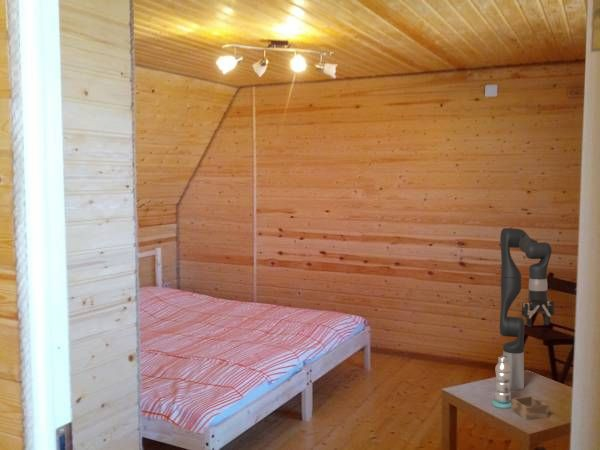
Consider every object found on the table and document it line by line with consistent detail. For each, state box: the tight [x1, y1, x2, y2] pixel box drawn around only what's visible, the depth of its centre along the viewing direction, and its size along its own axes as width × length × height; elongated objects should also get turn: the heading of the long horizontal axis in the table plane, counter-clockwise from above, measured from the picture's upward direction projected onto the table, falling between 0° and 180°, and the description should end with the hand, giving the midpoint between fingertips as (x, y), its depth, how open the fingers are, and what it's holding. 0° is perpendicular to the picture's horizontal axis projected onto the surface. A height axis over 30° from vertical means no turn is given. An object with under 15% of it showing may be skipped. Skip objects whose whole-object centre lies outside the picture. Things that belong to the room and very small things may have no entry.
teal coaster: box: [491, 398, 511, 410], centre depth 261 cm, size 9×9×1 cm
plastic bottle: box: [494, 355, 512, 403], centre depth 261 cm, size 6×7×20 cm
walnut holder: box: [510, 395, 549, 421], centre depth 251 cm, size 11×10×5 cm
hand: (537, 325), depth 260 cm, fingers open, 8 cm apart
